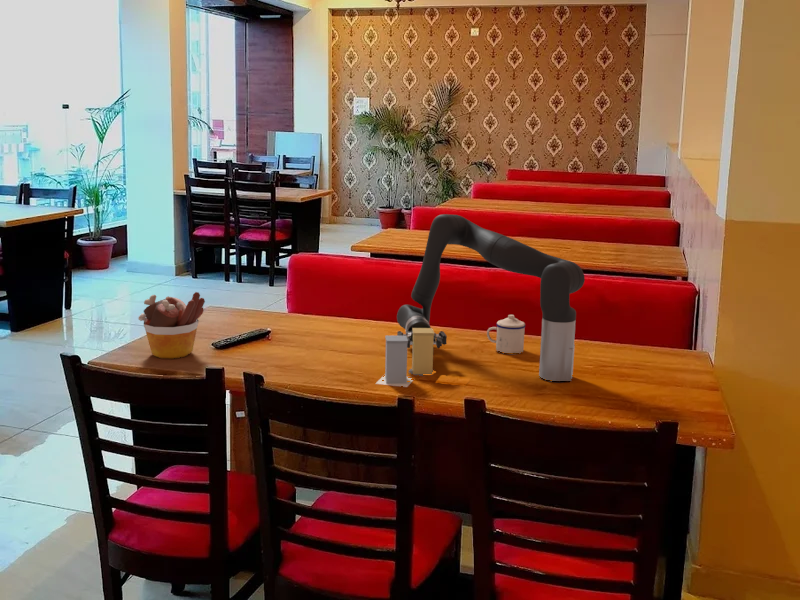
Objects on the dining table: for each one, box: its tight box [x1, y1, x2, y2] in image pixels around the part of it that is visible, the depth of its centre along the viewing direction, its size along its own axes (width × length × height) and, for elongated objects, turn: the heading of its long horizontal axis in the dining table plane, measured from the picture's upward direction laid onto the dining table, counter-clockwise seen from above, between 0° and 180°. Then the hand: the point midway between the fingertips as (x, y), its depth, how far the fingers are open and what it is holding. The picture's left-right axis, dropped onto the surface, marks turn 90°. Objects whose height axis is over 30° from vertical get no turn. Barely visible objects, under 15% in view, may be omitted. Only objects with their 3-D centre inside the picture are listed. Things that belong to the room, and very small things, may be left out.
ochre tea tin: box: [411, 327, 435, 374], centre depth 236 cm, size 6×6×12 cm
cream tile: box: [375, 375, 414, 388], centre depth 229 cm, size 9×9×1 cm
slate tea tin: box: [384, 335, 408, 384], centre depth 228 cm, size 6×6×12 cm
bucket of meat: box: [137, 291, 206, 360], centre depth 249 cm, size 20×16×20 cm
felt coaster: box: [408, 368, 424, 377], centre depth 238 cm, size 8×8×1 cm
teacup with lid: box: [486, 314, 526, 354], centre depth 262 cm, size 12×9×12 cm
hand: (423, 344), depth 234 cm, fingers open, 8 cm apart
